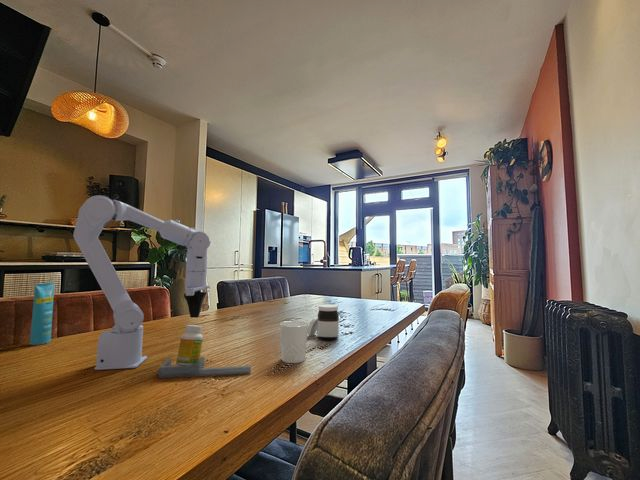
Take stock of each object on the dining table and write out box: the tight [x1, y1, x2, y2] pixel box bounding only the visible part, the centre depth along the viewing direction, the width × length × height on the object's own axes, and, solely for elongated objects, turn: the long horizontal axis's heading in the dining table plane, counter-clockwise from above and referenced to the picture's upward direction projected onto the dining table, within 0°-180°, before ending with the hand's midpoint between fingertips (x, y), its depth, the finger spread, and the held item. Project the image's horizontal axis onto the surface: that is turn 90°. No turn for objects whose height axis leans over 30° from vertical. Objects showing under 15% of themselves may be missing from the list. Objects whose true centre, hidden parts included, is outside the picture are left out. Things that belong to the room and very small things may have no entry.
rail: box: [157, 356, 252, 379], centre depth 74 cm, size 21×6×2 cm, turn 101°
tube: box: [29, 281, 55, 346], centre depth 95 cm, size 7×5×19 cm, turn 13°
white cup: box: [279, 320, 309, 364], centre depth 84 cm, size 8×8×10 cm
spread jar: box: [307, 303, 340, 342], centre depth 107 cm, size 12×11×12 cm
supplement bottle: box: [176, 324, 204, 365], centre depth 78 cm, size 5×5×10 cm
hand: (194, 317), depth 89 cm, fingers closed
